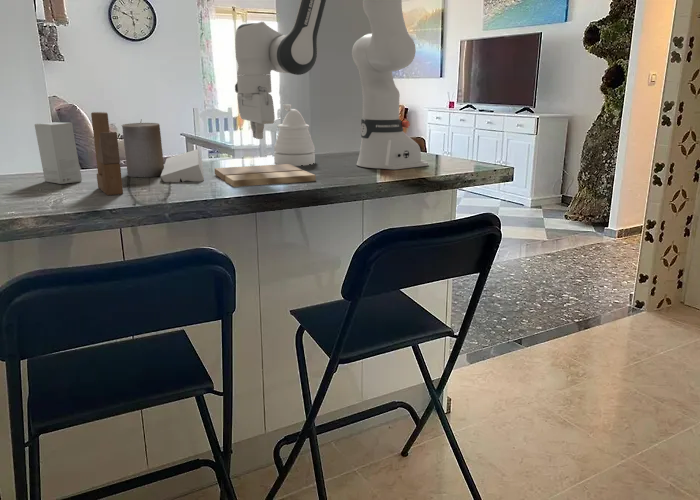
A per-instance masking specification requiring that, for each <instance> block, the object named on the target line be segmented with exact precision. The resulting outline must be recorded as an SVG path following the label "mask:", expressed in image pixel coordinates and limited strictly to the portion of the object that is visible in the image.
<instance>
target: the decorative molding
mask: <svg viewBox="0 0 700 500" xmlns="http://www.w3.org/2000/svg"><path fill="white" fill-rule="evenodd" d="M202 163H203V160H202V157H201V154H200V151H199V149H198V148H197V149H193V150H190V151H187V152H184V153H181V154H177V155H174V156H170V157H166V159H165V162H164V169H163V171H162V174H161V175H160V178H161V180H162V181H163V182H164V183H179V182H181V181H182V182H185V181H190V182H204V181H205V177H204V165H203V164H202Z"/></svg>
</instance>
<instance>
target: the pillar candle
mask: <svg viewBox="0 0 700 500" xmlns="http://www.w3.org/2000/svg"><path fill="white" fill-rule="evenodd" d="M160 126H161V125H160V123H158V122H142V119H140V122H133V123H131V122H129V123H124V124H122V125H121V127H122V134H123V135H122V136H123V147H124V154H125V163H126V172H127V176H128V177H130V178H153V177H158V176H159V177H161V174H162V171H163V169H164V165H165V162H164V156H163V155H164V154H163V146H162V144H163V143H162V136H161V127H160Z"/></svg>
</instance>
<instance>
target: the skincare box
mask: <svg viewBox="0 0 700 500" xmlns="http://www.w3.org/2000/svg"><path fill="white" fill-rule="evenodd" d="M34 129H35V134H36V140H37V145H38V150H39V151H38V153H39V156H40V162H41V168H42V172H43V178H44V182H47V183H51V184H52V183H54V184H58V185H65V184H71V183H72V184H73V183H81V182H83V181H82V180H83V178H82V173H81V167H80V161H79V156H78V151H77V145H76V138H75V132H74V127H73V122H57V121H53V122H41V123H35V124H34Z"/></svg>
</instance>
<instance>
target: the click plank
mask: <svg viewBox="0 0 700 500" xmlns="http://www.w3.org/2000/svg"><path fill="white" fill-rule="evenodd" d="M289 171H303V169H301V168H300V167H298V166H293V165H291V164H279V165H278V164H264V165H251V166H249V165H248V166H231V167H216V168H215V167H214V175H215V176H217V177H218V178H220V179H221V180H222V181H225V182H226V180H225V176H227V175H242V174H258V173H273V172H289Z"/></svg>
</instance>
